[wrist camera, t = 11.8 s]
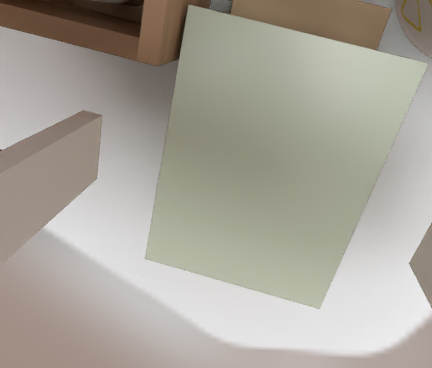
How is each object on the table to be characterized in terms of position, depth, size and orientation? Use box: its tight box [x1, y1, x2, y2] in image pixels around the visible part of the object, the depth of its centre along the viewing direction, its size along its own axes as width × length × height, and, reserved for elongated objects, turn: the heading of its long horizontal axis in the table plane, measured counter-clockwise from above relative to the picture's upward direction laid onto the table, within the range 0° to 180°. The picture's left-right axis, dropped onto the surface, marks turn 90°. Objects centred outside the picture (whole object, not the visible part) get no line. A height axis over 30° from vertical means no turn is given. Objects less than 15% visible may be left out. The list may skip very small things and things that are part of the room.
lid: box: [145, 5, 429, 309], centre depth 19 cm, size 12×10×3 cm
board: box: [230, 0, 392, 50], centre depth 21 cm, size 16×7×2 cm, turn 167°
